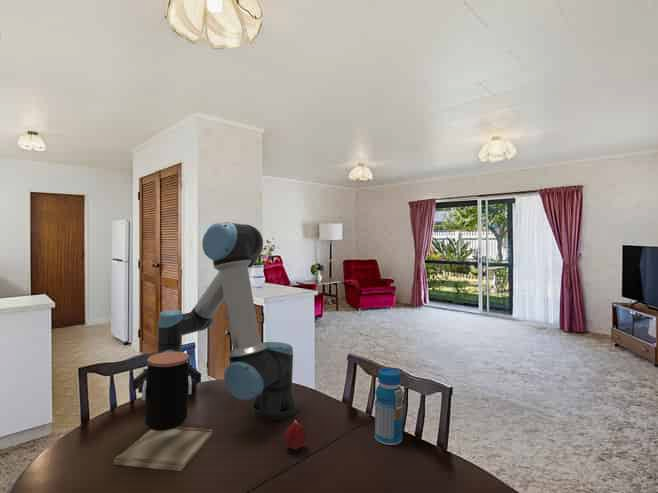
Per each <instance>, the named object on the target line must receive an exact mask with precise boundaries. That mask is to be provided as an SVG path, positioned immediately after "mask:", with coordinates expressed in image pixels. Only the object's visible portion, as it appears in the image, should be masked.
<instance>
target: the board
mask: <svg viewBox="0 0 658 493" xmlns="http://www.w3.org/2000/svg"><path fill="white" fill-rule="evenodd" d="M213 431H214V430H213V429H209V428H199V427H187V426H178V427H176V428H174V429H170V430H164V431H155V430H151V429H150V430H148V431H147V432H146V433H145V434H143V436H140V438H139V439H137V440H136V441H135V442H133V444H132V445H130V446H129V447H128V448H126V449H125V450H124V451H122V453H121V454H119V455H116V456H115V457H114V460H113V465H115V466H116V465H117V466H126V467H136V468H144V469H146V468H147V469H153V470H154V469H155V470H163V471H164V470H166V471H176V472H182V471H183V469H184V468H186V466H187V465H188V464H189V462H191V460H192V459H193V458H194V457H195V456H196V454H197V453H198V452H199V451H200V450H201V448H203V446H205V444H206V442H207V441H208V440H209V439H210V438H211V437H212V436H213Z"/></svg>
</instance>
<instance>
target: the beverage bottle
mask: <svg viewBox="0 0 658 493" xmlns="http://www.w3.org/2000/svg"><path fill="white" fill-rule="evenodd" d="M377 374H378V375H377V376H378V377H377V378H378V379H377V380H378V383H379V384H378V386H377V388H376V389H375V396H376V398H375V399H374V407H375V408H374V409H375V410H374V439H375V440H376V441H377V442H378V443H380V444H382V445H387V446H395V445H398V444H400V443H401V442H402V441H403V420H404V419H403V418H404V417H403V416H404V406H405V405H404V404H405V403H404V401H403V399H404V392H403V390H402V388H401V383H402V372H401V371H400V370H399V369H396V368H391V367H384V368H380V369H379V370H378V373H377Z"/></svg>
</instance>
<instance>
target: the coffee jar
mask: <svg viewBox="0 0 658 493" xmlns="http://www.w3.org/2000/svg"><path fill="white" fill-rule="evenodd" d="M188 361H190V355H189V354H188V353H187V352H182V351H181V352H164V353H159V354H157V353H155V354H153V355H150V356H149V357H147V360H146V362H147V364H148V366H147V368H146V369H147V378H146V397H145V405H144V406H145V409H144V411H145V412H144V413H145V414H144V423H145V424H146V426H147V428H148V429H150V430H155V431H164V430H170V429H174V428H176V427H181V426H182V425H183V424H184V422H185V420H186V419H187V417H188V402H189V401H188V400H189V399H188V395H189V394H188V375H189V365H190V364H189V362H188Z"/></svg>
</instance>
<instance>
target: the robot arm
mask: <svg viewBox="0 0 658 493" xmlns="http://www.w3.org/2000/svg"><path fill="white" fill-rule="evenodd" d="M201 246H202V250H203V253H204V255H205V256H207V258H208V259H211V260H212V263H213V268H214V269H215V270H216V271H218V273H217V274H216V275H215V277H214V278H213V279H212V281H211V283H210V284H209V285H208V287H207V288H206V289H205V291H204V293H203V294H202V295H201V297H200V298H199V300H198V301H197V303H195V306H194V307H193V308H192V310H191V311H190V312H186V313H182V311H181V310H178V309H169V310H167V309H166V310H163V311H161V312H159V314H158V319H157V320H158V322H157V346H156V347H157V348H156V349H157V350H156V354H159V353H164V352H182V350H181V349H182V336H185V335H189V334H193V333H196V332H201V331H205V330H206V329H208V328H210V327H211V326H212V325H213V323H214V315H215V313H216V312H217V310H218V309H219V308H220V306H221V305H222V304H223V302H224V304H225V309H226V315H227V316H226V318H227V320H228V321H227V322H228V328H229V333H230V334H229V335H230V339H231V340H230V341H231V345H232V349H231V351H230V352H229V353H228V359H229V360H228V361H229V365H227V367H226V369H225V372H224V374H223V379H224V384H225V387H226V389H227V390H228V392H229V393H230V394H231V395H233V396H234V398H236V399H239V400H244V401H246V400H248V401H249V400H251V399H253V402H252V405H251V413H252V415H253V416H254V417H255V418H257V419H259V420H262V421H269V422H272V421H273V422H274V421H275V422H276V421H283V420H286V419H288V418H289V419H290V418H292V417H293V416H294V415H295V414H296V413H297V409H298V407H297V403H298V402H297V400H296V396H295V393H294V391H293V364H294V361H293V360H294V350H293V346H292V345H291V344H290V343H286V342H279V341H264V342H261V336H260V331H259V324H258V319H257V313H256V307H255V303H254V295H253V292H252V290H253V289H252V285H251V279H250V274H249V269H250V268H252V267H253V266H254V264H255V263H256V262H257V260H258V259H259V257H260V255H261V253H262V252H263V248H264V238H263V235H262V233H261V232H260V231H259V230H258V229H257V228H256V227H255V226H253V225H251V224H243V223H242V224H241V223H236V222H235V223H234V222H229V221H225V222H215V223H212V224H211V225H210V226H209V227H208V228H207V230H206V232H205V233H204V234H203V238H202V245H201ZM146 378H147V368H143V370H142V372H141V373H140V374H138V375H137V376H136V377H135V378H134V379H133V380H132V383H131V384H132V386H131V387H132V389H131V390H132V391H136V390H138V393H140V394H141V400H142V401H146ZM201 382H202V373H201V372H200V371H198V370H197V369H195V368H194V367H193V364H189V375H188V395H192V390H193V389H192V388H193V387H195V388H196V383H197V384H200V383H201Z"/></svg>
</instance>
